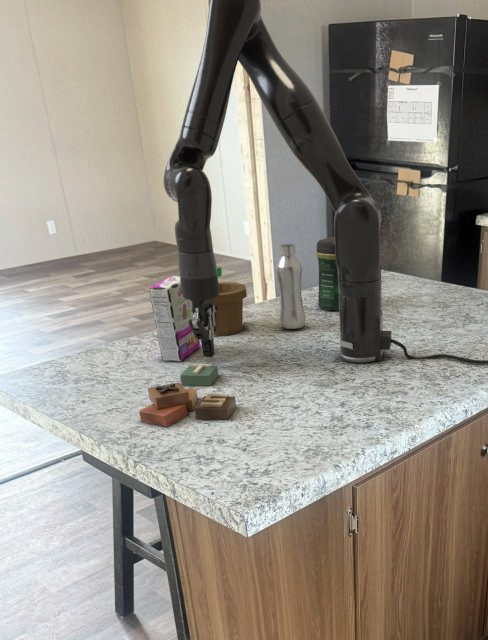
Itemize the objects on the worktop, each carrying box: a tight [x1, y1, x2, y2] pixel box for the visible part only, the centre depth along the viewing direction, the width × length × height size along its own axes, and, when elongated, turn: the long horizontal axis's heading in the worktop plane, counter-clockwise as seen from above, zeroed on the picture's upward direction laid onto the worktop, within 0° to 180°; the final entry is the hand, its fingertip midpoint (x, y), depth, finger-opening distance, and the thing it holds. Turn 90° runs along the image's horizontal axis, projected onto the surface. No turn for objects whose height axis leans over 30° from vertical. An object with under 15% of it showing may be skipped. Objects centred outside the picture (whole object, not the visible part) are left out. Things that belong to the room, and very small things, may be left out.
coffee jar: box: [316, 236, 339, 312], centre depth 191 cm, size 10×8×19 cm
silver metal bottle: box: [275, 243, 306, 330], centre depth 173 cm, size 6×7×20 cm
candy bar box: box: [148, 275, 201, 363], centre depth 158 cm, size 11×5×16 cm, turn 168°
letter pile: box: [138, 381, 198, 428], centre depth 130 cm, size 8×14×5 cm, turn 174°
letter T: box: [180, 363, 219, 387], centre depth 146 cm, size 6×6×3 cm
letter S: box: [194, 393, 237, 421], centre depth 130 cm, size 6×6×3 cm
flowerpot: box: [213, 266, 248, 337], centre depth 171 cm, size 14×14×30 cm
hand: (209, 355), depth 152 cm, fingers closed
